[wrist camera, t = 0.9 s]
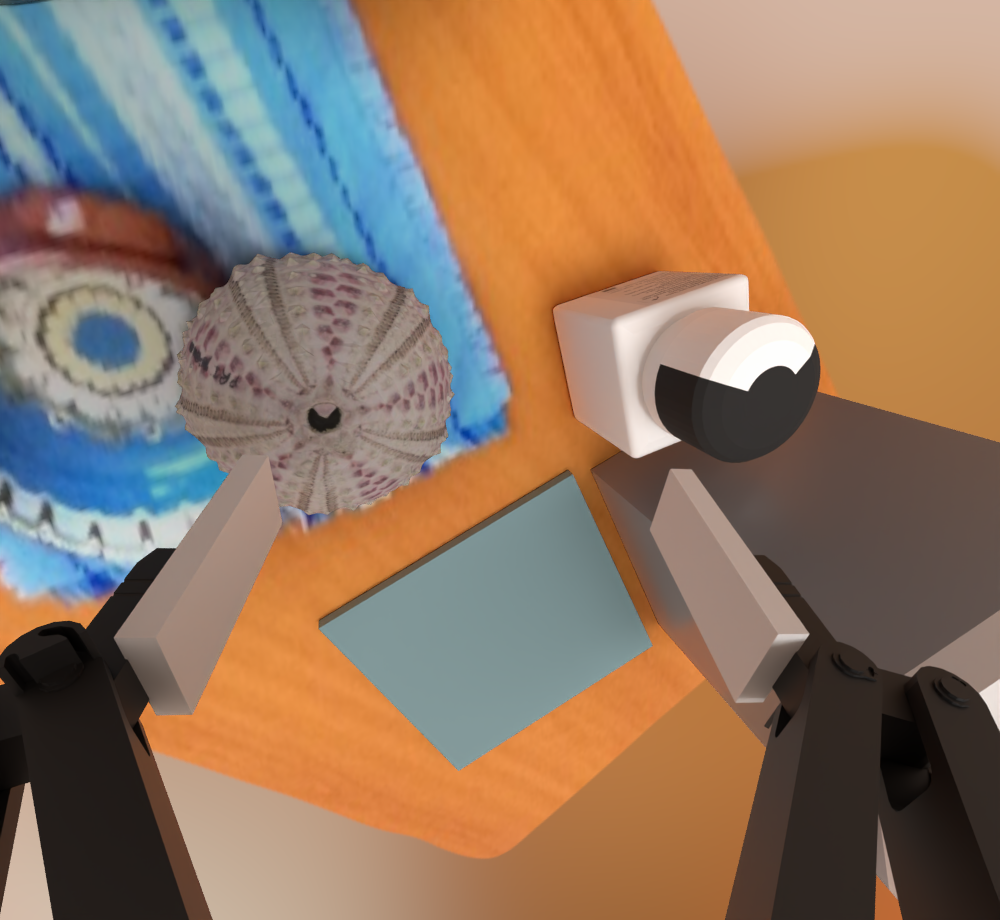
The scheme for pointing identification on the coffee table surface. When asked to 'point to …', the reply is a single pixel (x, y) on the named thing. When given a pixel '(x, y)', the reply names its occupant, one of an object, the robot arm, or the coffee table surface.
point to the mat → (495, 624)
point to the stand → (846, 542)
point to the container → (686, 366)
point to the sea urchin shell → (316, 379)
